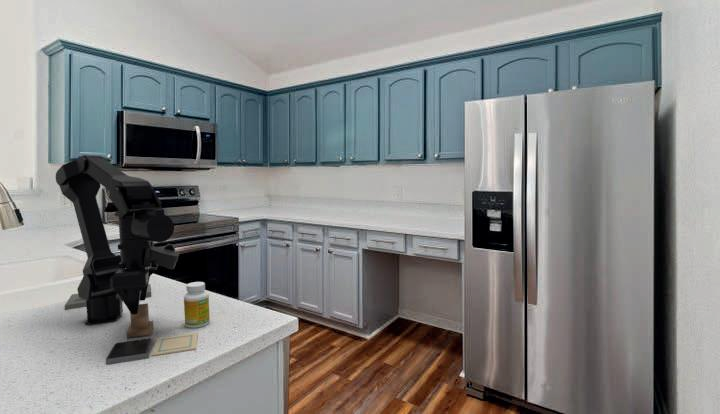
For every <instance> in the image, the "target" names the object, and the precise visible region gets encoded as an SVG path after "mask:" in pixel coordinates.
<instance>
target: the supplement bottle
mask: <svg viewBox="0 0 720 414" xmlns="http://www.w3.org/2000/svg"><path fill="white" fill-rule="evenodd" d="M209 298H210V297H209V293H208V291H207V290H206V283H205V282H203V281H194V282H189V283H186V293H185V294H184V296H183V306H184V307H183V308H184V309H183V310H184V325H185V327H186V328H191V329H196V328H202V327H204V326H206V325H208V324H209V323H210V302H209V301H210V299H209Z"/></svg>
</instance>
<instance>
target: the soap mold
mask: <svg viewBox="0 0 720 414" xmlns="http://www.w3.org/2000/svg"><path fill="white" fill-rule="evenodd" d="M119 297H120V296H119ZM148 298H152V287H151V283H149V284H148V289H147V294H146V299H148ZM122 302H123V300H122ZM81 308H82V309H83V308H87V307H86V300H85V299H82V298H80V297H79V295H78V293H71V295H70V297H69V298H68V300H67V301H66V303H65V304H64V310H65V311H69V310H74V309H81Z"/></svg>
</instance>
